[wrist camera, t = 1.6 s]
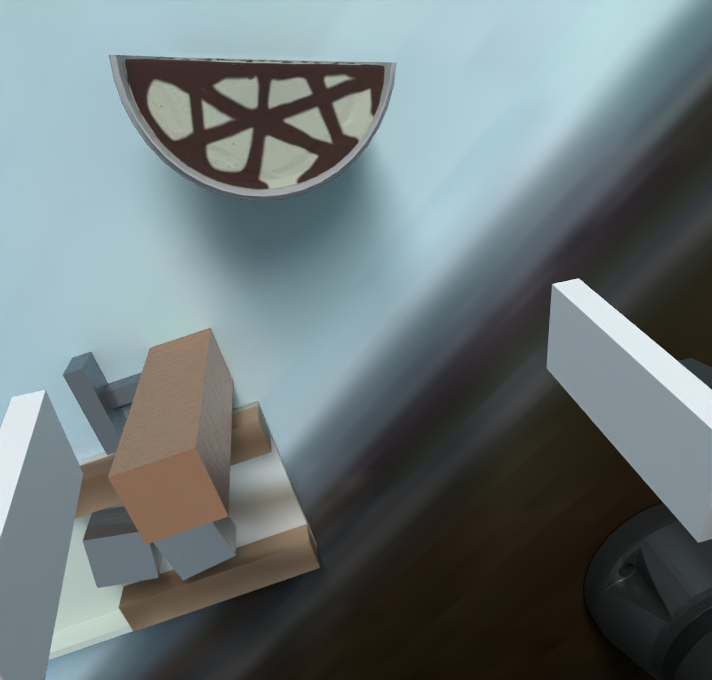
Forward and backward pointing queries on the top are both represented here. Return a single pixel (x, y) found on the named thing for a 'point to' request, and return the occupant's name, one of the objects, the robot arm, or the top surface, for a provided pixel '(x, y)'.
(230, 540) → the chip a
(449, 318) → the top surface
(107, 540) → the grey block
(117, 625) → the tray
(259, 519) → the slot board
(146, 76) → the food container
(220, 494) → the brown block with handle
